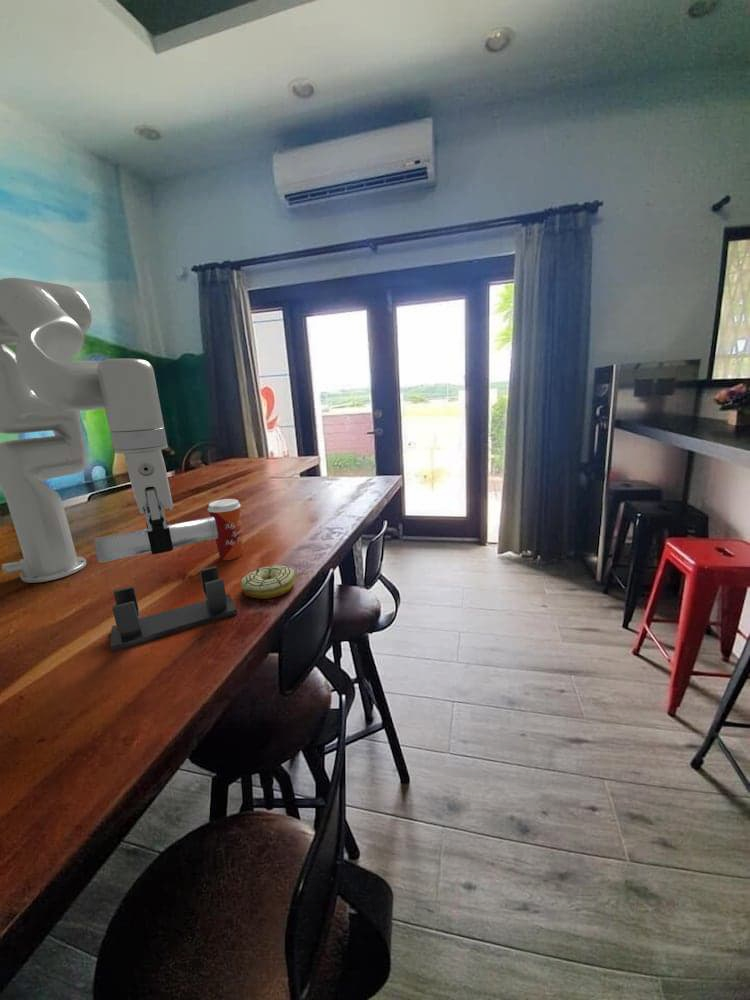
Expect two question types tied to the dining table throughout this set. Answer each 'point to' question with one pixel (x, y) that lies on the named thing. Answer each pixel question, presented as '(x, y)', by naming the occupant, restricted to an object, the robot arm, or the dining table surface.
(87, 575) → the dining table surface
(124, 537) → the rail
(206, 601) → the cradle stand
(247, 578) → the decorated donut
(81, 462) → the robot arm
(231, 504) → the paper cup
